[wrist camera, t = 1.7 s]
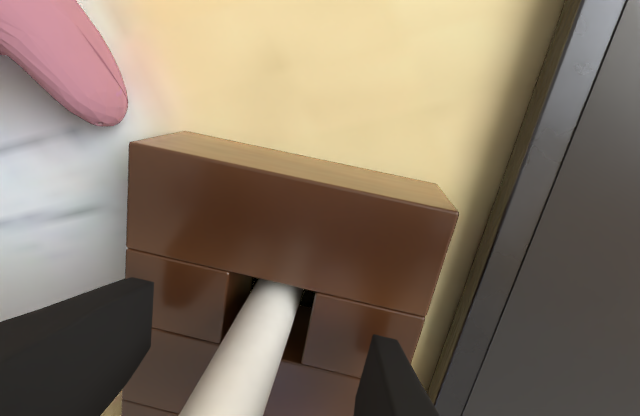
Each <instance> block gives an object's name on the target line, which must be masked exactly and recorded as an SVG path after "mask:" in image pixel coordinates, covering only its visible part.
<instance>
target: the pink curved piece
mask: <svg viewBox="0 0 640 416" xmlns="http://www.w3.org/2000/svg"><path fill="white" fill-rule="evenodd" d="M0 55H7V56H9V57H10V58H11V59H12V60H13V61H15V62H16V63H17V64H18V65H19V66H20V67H22V68H23V69H24V70H25V71H26V72H27V73H28V74H29V75H30V76H31V77H32V78H33V79H34V80H35V81H36V82H37V83H38V84H39V85H40V86H41V87H42V88H43V89H45V90H46V91H47V92H48V93H49V94H50V95H51V96H52V97H53V98H54V99H55V100H56V101H58V102H59V103H60V104H61V105H62V106H64V107H65V108H66V109H67V110H68V111H70V112H71V113H73V114H75V115H77V116H78V117H80V118H82V119H83V120H85V121H87V122H89V123H91V124H93V125H96V126H106V127H108V126H114V125H116V124H118V123H120V122H121V120H122V119H123V118H124V116H125V114H126V111H127V108H128V99H127V92H126V88H125V85H124V82H123V79H122V76H121V73H120V71H119V68H118V66H117V64H116V62H115V60H114V57H113V55H112V53H111V52H110V50H109V48H108V47H107V45H106V43H105V41H104V40H103V38H102V36H101V34H100V33H99V31H98V30H97V29H96V27H95V26H94V25H93V23H92V22H91V20H90V19H89V18H88V16H87V15H86V14H85V12H84V11H83V10H82V8H81V7H80V5H79V4H78V3H77V1H76V0H0Z"/></svg>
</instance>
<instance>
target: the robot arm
mask: <svg viewBox="0 0 640 416" xmlns="http://www.w3.org/2000/svg"><path fill="white" fill-rule="evenodd" d="M153 296H154V282H151V281H147V280H143V279H138V278H134V277H131V278H127V279H123V280H120V281H117V282H114V283H111V284H108V285H106V286H103V287H100V288H97V289H94V290H92V291H89V292H86V293H83V294H81V295H78V296H75V297H72V298H70V299H67V300H64V301H61V302H59V303H56V304H53V305H50V306H47V307H45V308H42V309H39V310H36V311H33V312H30V313H27V314H24V315H21V316H17V317H14V318H11V319H8V320H5V321H2V322H0V416H100V415H101V414H102V413H103V412H104V411H105V409H106V408H107V407H108V406H109V405H110V403H111V402H112V401H113V400H114V399H115V397H116V396H117V395H118V394H119V393H120V391H121V390H122V389H123V388H124V386H125V385H126V384H127V383H128V381H129V380H130V378H131V377H132V375H133V374H134V372H135V371H136V369H137V368H138V366H139V365H140V363H141V362H142V360H143V359H144V357H145V355H146V354H147V352H148V351H149V349H150V347H151V333H152V314H153ZM354 416H440V415H439V413H438V411H437V410H436V408H435V406H434V405H433V403H432V401H431V400H430V398H429V396H428V395H427V393H426V391H425V389H424V388H423V386H422V384H421V382H420V381H419V379H418V377H417V375H416V373H415V372H414V370H413V368H412V366H411V364H410V362H409V360H408V358H407V357H406V355H405V353H404V351H403V349H402V347H401V345H400V344H399V342H398V340H396V339H392V338H388V337H383V336H379V335H375V334H373V336H372V340H371V343H370V347H369V350H368V354H367V358H366V361H365V365H364V369H363V372H362V376H361V379H360V383H359V387H358V390H357V394H356V397H355V407H354Z"/></svg>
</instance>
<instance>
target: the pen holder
mask: <svg viewBox="0 0 640 416" xmlns="http://www.w3.org/2000/svg"><path fill="white" fill-rule="evenodd" d="M458 216H459V212H458V211H457V210H456V208H455V207H454V206H453V204H452V203H451V202H450V200H449V199H448V198H447V197H446V195H445V194H444V193H443V191H442V190H441V189H440V188H439V186H438V185H437V184H434V183H429V182H425V181H420V180H415V179H410V178H406V177H401V176H396V175H391V174H387V173H382V172H377V171H372V170H368V169H363V168H358V167H353V166H349V165H344V164H339V163H334V162H330V161H325V160H320V159H315V158H311V157H306V156H301V155H296V154H292V153H287V152H282V151H277V150H273V149H268V148H263V147H258V146H254V145H249V144H244V143H239V142H235V141H230V140H225V139H220V138H216V137H211V136H206V135H201V134H197V133H192V132H187V131H182V132H177V133H172V134H167V135H162V136H157V137H153V138H148V139H143V140H138V141H133V142H130V143H129V161H128V199H127V237H126V246H127V250H126V269H125V279H127V278H131V277H134V278H138V279H143V280H147V281H151V282H154V296H153V314H152V333H151V347H150V349H149V351H148V352H147V354H146V355H145V357H144V359H143V360H142V362H141V363H140V365H139V366H138V368H137V369H136V371H135V372H134V374H133V375H132V377H131V378H130V380H129V381H128V383H127V384H126V385H125V386H124V388H123V389H122V415H121V416H179V414H180V412H181V411H182V409H183V407H184V406H185V404H186V402H187V400H188V399H189V397H190V395H191V394H192V392H193V390H194V389H195V387H196V385H197V383H198V382H199V380H200V378H201V377H202V375H203V373H204V371H205V370H206V368H207V366H208V365H209V363H210V361H211V360H212V358H213V356H214V354H215V353H216V351H217V349H218V348H219V346H220V344H221V342H222V341H223V339H224V337H225V336H226V334H227V332H228V331H229V329H230V327H231V325H232V324H233V322H234V320H235V319H236V317H237V315H238V313H239V312H240V310H241V308H242V307H243V305H244V303H245V302H246V300H247V298H248V296H249V295H250V291H251V284H252V277H255V278H260V279H264V280H268V281H273V282H277V283H281V284H285V285H290V286H294V287H298V288H303V289H307V290H311V291H316V292H315V297H314V302H313V306H312V308H310V307H305V306H301V305H299V306H298V309H297V312H296V315H295V318H294V321H293V324H292V327H291V331H290V334H289V337H288V340H287V343H286V346H285V349H284V352H283V355H282V358H281V361H280V364H279V368H278V371H277V374H276V377H275V380H274V383H273V386H272V389H271V392H270V395H269V398H268V402H267V405H266V408H265V411H264V414H263V416H354V407H355V397H356V394H357V390H358V387H359V383H360V379H361V376H362V372H363V369H364V365H365V361H366V358H367V354H368V350H369V347H370V343H371V340H372V336H373V334H375V335H379V336H383V337H388V338H392V339H396V340H398V342H399V344H400V345H401V347H402V349H403V351H404V353H405V355H406V357H407V358H408V360H409V362H410V364H411V361H412V358H413V355H414V352H415V349H416V346H417V343H418V340H419V337H420V334H421V331H422V328H423V324H424V321H425V316H426V315H427V312H428V309H429V306H430V303H431V300H432V296H433V293H434V290H435V287H436V284H437V281H438V278H439V275H440V272H441V269H442V266H443V263H444V260H445V256H446V253H447V250H448V247H449V244H450V241H451V238H452V235H453V232H454V229H455V226H456V223H457V219H458Z"/></svg>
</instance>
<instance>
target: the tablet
mask: <svg viewBox="0 0 640 416" xmlns="http://www.w3.org/2000/svg"><path fill="white" fill-rule="evenodd" d="M427 395H428V396H429V398H430V400H431V401H432V403H433V405H434V406H435V408H436V410H437V411H438V413H439V415H440V416H640V0H566V1H565V4H564V7H563V9H562V12H561V15H560V18H559V21H558V24H557V26H556V29H555V32H554V35H553V38H552V41H551V43H550V46H549V49H548V52H547V55H546V58H545V60H544V63H543V66H542V69H541V72H540V75H539V77H538V80H537V83H536V86H535V89H534V92H533V95H532V97H531V100H530V103H529V106H528V109H527V112H526V114H525V117H524V120H523V123H522V126H521V129H520V131H519V134H518V137H517V140H516V143H515V146H514V148H513V151H512V154H511V157H510V160H509V163H508V165H507V168H506V171H505V174H504V177H503V180H502V182H501V185H500V188H499V191H498V194H497V197H496V199H495V202H494V205H493V208H492V211H491V214H490V217H489V219H488V222H487V225H486V228H485V231H484V234H483V236H482V239H481V242H480V245H479V248H478V251H477V253H476V256H475V259H474V262H473V265H472V268H471V270H470V273H469V276H468V279H467V282H466V285H465V287H464V290H463V293H462V296H461V299H460V302H459V304H458V307H457V310H456V313H455V316H454V319H453V322H452V324H451V327H450V330H449V333H448V336H447V339H446V341H445V344H444V347H443V350H442V353H441V356H440V358H439V361H438V364H437V367H436V370H435V373H434V375H433V378H432V381H431V384H430V387H429V390H428V392H427Z"/></svg>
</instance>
